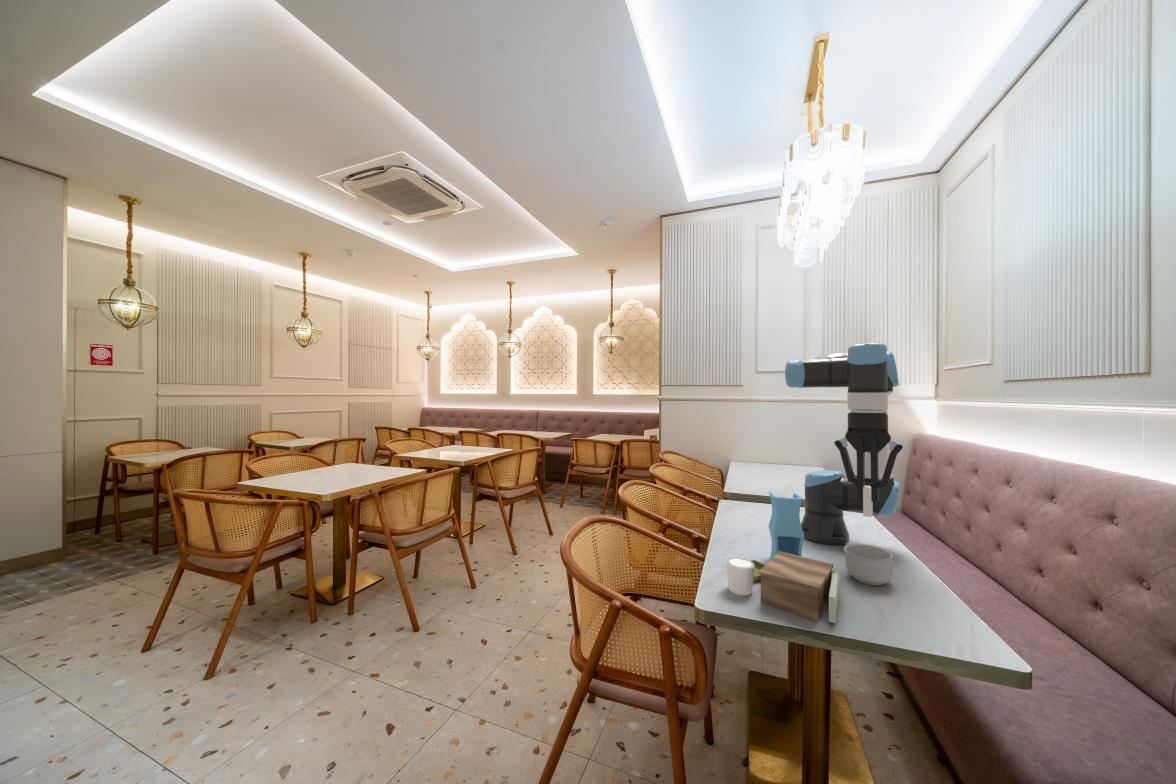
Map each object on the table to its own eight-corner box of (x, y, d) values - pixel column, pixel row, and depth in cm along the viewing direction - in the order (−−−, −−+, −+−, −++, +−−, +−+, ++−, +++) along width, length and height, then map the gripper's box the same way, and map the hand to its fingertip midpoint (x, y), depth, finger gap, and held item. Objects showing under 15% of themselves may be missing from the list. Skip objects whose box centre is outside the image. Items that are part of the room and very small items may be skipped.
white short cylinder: (738, 581, 105) (738, 555, 105) (760, 592, 99) (760, 564, 99) (720, 587, 102) (720, 560, 102) (741, 599, 96) (741, 570, 96)
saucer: (730, 571, 112) (730, 563, 112) (754, 566, 115) (754, 559, 115) (754, 584, 104) (754, 576, 104) (778, 579, 107) (778, 571, 107)
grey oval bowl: (902, 591, 100) (902, 560, 100) (854, 587, 102) (854, 556, 102) (874, 568, 113) (874, 540, 114) (832, 565, 116) (832, 537, 116)
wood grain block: (779, 578, 107) (779, 551, 107) (833, 594, 98) (833, 564, 98) (759, 602, 94) (759, 571, 94) (819, 622, 86) (818, 588, 86)
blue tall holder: (796, 558, 120) (796, 493, 120) (804, 569, 112) (804, 499, 113) (768, 556, 122) (768, 491, 122) (774, 566, 114) (774, 497, 115)
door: (832, 592, 98) (832, 570, 98) (839, 594, 97) (839, 571, 97) (828, 621, 85) (828, 596, 85) (836, 623, 84) (836, 598, 85)
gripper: (904, 412, 88) (905, 517, 88) (837, 410, 97) (837, 506, 97) (902, 412, 83) (903, 525, 82) (831, 411, 91) (831, 513, 91)
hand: (867, 515), depth 90 cm, fingers closed
